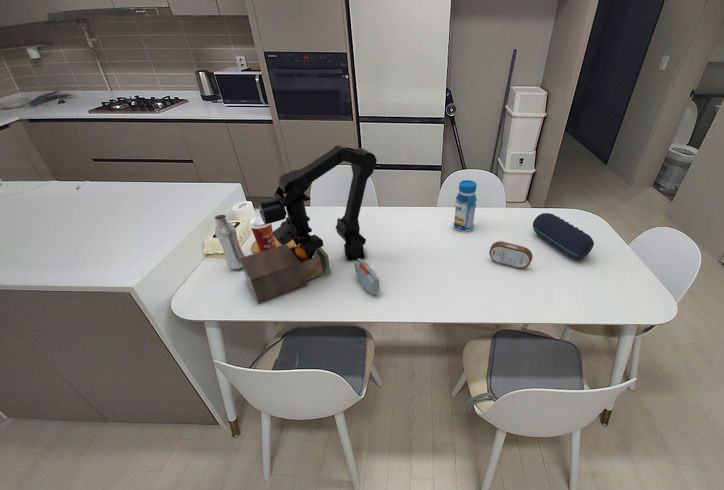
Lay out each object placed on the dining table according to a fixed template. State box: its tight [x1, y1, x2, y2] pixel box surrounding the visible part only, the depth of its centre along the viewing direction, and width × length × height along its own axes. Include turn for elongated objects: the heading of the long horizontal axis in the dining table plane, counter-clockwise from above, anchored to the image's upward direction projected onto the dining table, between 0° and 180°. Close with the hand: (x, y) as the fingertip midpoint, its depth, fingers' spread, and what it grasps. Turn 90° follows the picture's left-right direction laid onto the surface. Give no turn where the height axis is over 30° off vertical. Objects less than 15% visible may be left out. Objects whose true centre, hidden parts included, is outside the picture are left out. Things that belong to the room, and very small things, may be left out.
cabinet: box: [239, 243, 307, 304], centre depth 115 cm, size 16×14×10 cm
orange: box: [295, 243, 308, 260], centre depth 118 cm, size 6×6×7 cm
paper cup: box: [248, 215, 277, 252], centre depth 129 cm, size 8×8×14 cm
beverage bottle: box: [453, 179, 478, 233], centre depth 143 cm, size 8×8×20 cm
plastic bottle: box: [214, 214, 246, 270], centre depth 120 cm, size 6×7×20 cm
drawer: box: [289, 245, 332, 281], centre depth 120 cm, size 16×12×8 cm
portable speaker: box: [532, 212, 595, 261], centre depth 135 cm, size 25×10×10 cm, turn 26°
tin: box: [489, 240, 534, 269], centre depth 125 cm, size 15×3×8 cm, turn 65°
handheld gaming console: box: [353, 258, 381, 295], centre depth 115 cm, size 14×3×8 cm, turn 32°
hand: (305, 255), depth 119 cm, fingers closed on orange, 6 cm apart
